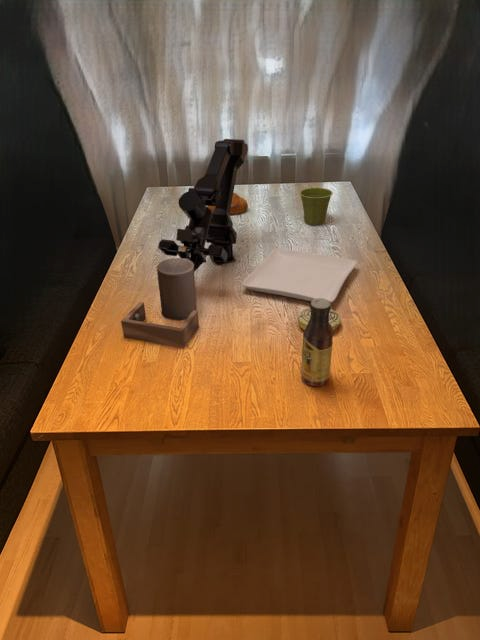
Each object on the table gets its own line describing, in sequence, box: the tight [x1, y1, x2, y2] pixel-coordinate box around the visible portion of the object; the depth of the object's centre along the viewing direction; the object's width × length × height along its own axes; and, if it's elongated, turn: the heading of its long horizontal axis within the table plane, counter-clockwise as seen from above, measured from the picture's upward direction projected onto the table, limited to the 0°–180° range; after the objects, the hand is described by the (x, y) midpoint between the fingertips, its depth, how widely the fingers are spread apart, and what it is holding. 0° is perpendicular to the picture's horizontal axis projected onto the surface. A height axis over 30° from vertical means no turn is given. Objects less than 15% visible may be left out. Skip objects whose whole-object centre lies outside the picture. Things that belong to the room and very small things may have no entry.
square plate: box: [241, 248, 359, 304], centre depth 155 cm, size 27×27×4 cm
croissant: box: [207, 192, 249, 215], centre depth 207 cm, size 14×16×8 cm
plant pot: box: [298, 187, 334, 226], centre depth 192 cm, size 12×12×11 cm
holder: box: [120, 301, 200, 349], centre depth 133 cm, size 10×16×5 cm, turn 71°
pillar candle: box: [156, 257, 198, 321], centre depth 139 cm, size 10×10×15 cm
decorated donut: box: [297, 307, 342, 333], centre depth 134 cm, size 10×11×4 cm
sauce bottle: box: [300, 298, 334, 387], centre depth 111 cm, size 7×6×20 cm
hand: (185, 279), depth 144 cm, fingers closed
